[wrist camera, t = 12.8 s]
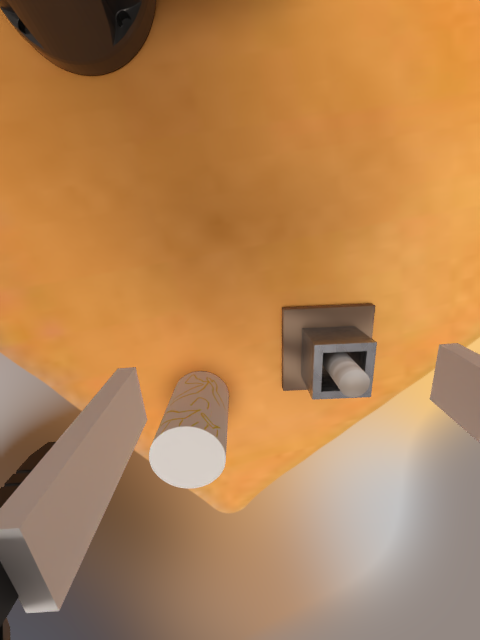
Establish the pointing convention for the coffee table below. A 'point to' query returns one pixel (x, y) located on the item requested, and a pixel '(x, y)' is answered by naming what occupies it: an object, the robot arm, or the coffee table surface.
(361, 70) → the coffee table surface
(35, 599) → the robot arm
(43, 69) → the coffee table surface
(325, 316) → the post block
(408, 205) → the coffee table surface
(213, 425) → the gold-veined taupe cylinder
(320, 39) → the coffee table surface
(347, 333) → the collar
